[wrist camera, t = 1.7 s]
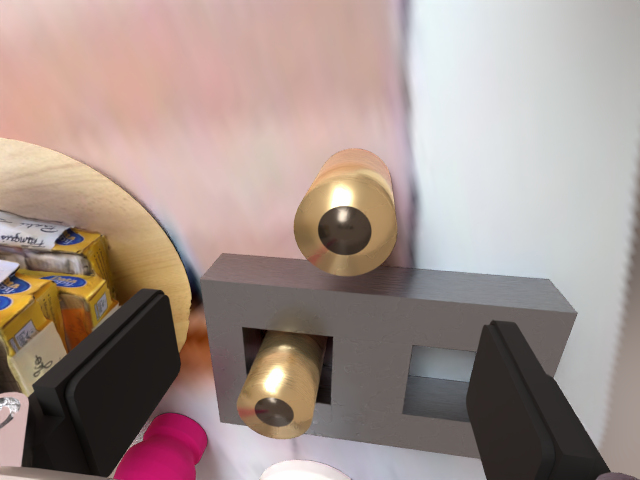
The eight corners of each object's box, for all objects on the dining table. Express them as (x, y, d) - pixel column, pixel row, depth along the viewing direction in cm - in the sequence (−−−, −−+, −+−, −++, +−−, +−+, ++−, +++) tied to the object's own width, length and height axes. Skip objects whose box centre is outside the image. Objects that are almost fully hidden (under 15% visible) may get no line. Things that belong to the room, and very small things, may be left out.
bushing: (318, 146, 24) (292, 177, 17) (395, 150, 23) (402, 183, 16) (317, 217, 26) (294, 272, 19) (387, 222, 25) (391, 280, 18)
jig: (222, 253, 28) (169, 313, 21) (549, 279, 25) (617, 360, 18) (237, 385, 34) (199, 468, 27) (504, 419, 31) (542, 523, 24)
